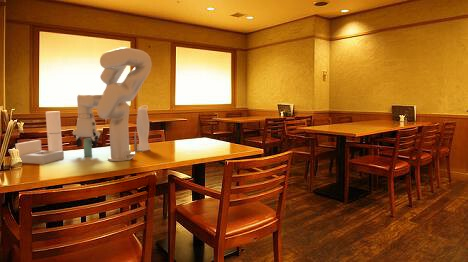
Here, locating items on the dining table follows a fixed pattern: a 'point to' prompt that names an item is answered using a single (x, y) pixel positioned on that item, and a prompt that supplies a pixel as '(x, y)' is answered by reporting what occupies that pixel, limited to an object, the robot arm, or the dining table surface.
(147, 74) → the robot arm
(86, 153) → the dowel
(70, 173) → the dining table surface
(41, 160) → the socket block
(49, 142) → the cylindrical container
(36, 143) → the wall
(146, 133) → the white bottle
